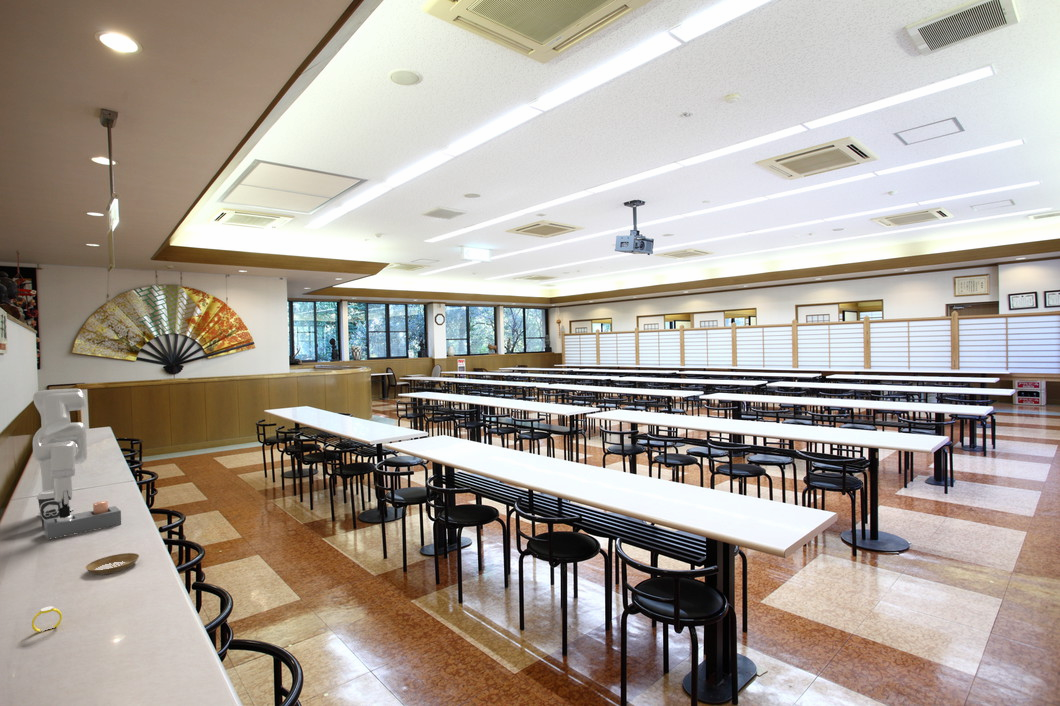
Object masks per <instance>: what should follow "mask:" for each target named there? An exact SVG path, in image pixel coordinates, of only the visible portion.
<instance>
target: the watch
mask: <svg viewBox="0 0 1060 706" xmlns="http://www.w3.org/2000/svg"><path fill="white" fill-rule="evenodd" d="M51 612H56V614H58V616H59V619H58V621H57V623H56V624H54V625H53V626H54V628H55V627H56V628H57V627H58V626H59V625H60V624H61V622H62V619H63V615H62V614H63V613H62V612H61V610H59V608H55V607H54V606H51V605H49V606H46V607H42V608H41V609H40V610H39V612H37V613H36V614H35V615H34V617H33V618H32V621H31V628H32V629H33V631H35V632H36V633H39V631H40V629H41V628H37V626H36V625H35V621H36V619H37V617H39V616H40V615H41V614H48V613H51ZM56 628H55V629H56Z"/></svg>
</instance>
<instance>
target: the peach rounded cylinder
mask: <svg viewBox="0 0 1060 706" xmlns="http://www.w3.org/2000/svg"><path fill="white" fill-rule="evenodd" d="M92 504H93V505H92V507H93V509H92V511H93V513H94V515H96V514H101V513H106V512H108V507H109V503H108V500H101V501H96V502H94V503H92Z"/></svg>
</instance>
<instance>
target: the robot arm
mask: <svg viewBox="0 0 1060 706" xmlns="http://www.w3.org/2000/svg"><path fill="white" fill-rule="evenodd" d="M32 398H33V403H34V406H35V408H36V409H37V411H38V413H39V415H40V420H41V421H40V422H41V427H40V428H39V429H38V430H37V431H36V432H35V433H34V435H33V438H32V452H33V453H32V454H33V459H34V460H36V461H38V463H39V466H40V474H41V490H42V491H41V492H43V491H47V490H54V500H55V501H56V502H59V507H60V508H59V517H60V518H62V517H67V516H70V515H71V512H73V511H74V510H75V507H74V506H70V501H71V500H73V479H72V477H74V476H76V465H79V464H82V463H85V462H86V461H87V457H88V441H87V440H88V439H87V430H86V429H87V428H86V426H85V424H84V423H82V422H81V421H80V422H71V414H70V412H73V411H82V410H84V409H85V408H86V405H87V400H86V399H87V398H86V396H85V393H84V392H83V391H82V389H80V388H63V389H62V388H61V389H60V388H58V389H57V388H56V389H44V390H39V391H36V392H35V393H33V396H32ZM42 442H43V443H42ZM73 509H74V510H73ZM72 510H73V511H72ZM70 511H71V512H70ZM38 517H41V514H40V511H39V512H38Z"/></svg>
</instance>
